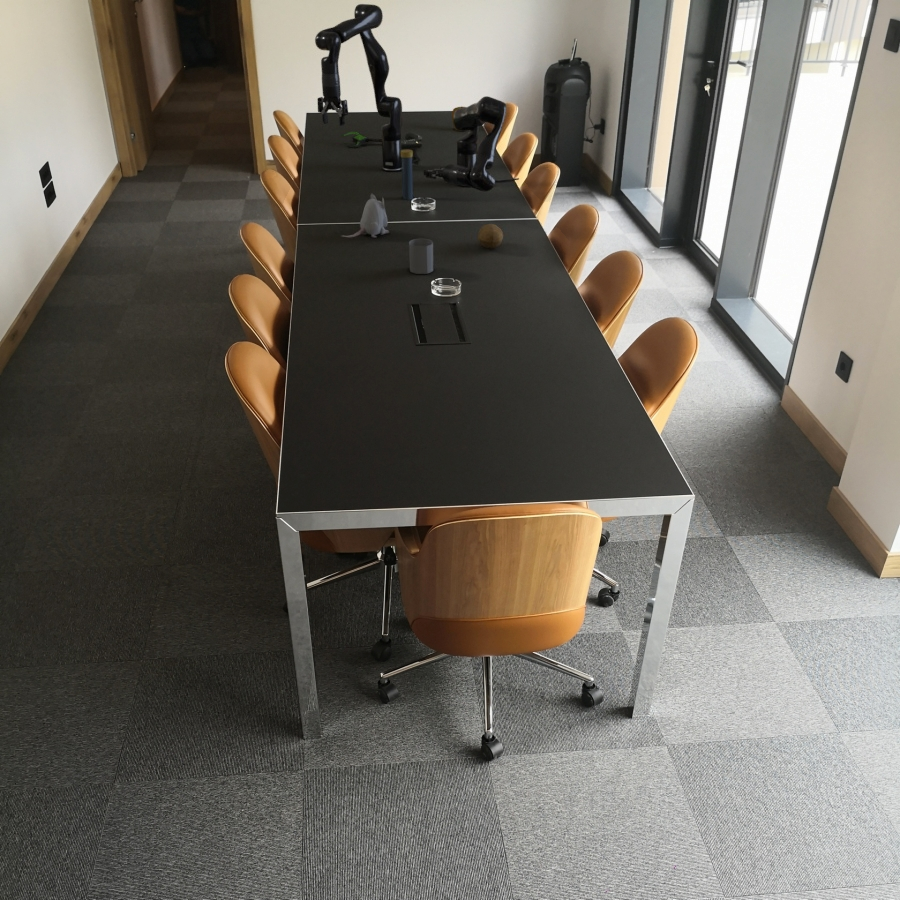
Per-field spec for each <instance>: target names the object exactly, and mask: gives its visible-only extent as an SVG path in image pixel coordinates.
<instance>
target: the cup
mask: <svg viewBox="0 0 900 900" xmlns="http://www.w3.org/2000/svg"><path fill="white" fill-rule="evenodd" d="M408 253H409V272H411V273H412V274H416V275H426V274H430V273H432V272H434V241H433V240H431V239H428V238H422V237H421V238H420V237H419V238H414V239H411V240H410V241H409V242H408Z"/></svg>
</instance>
